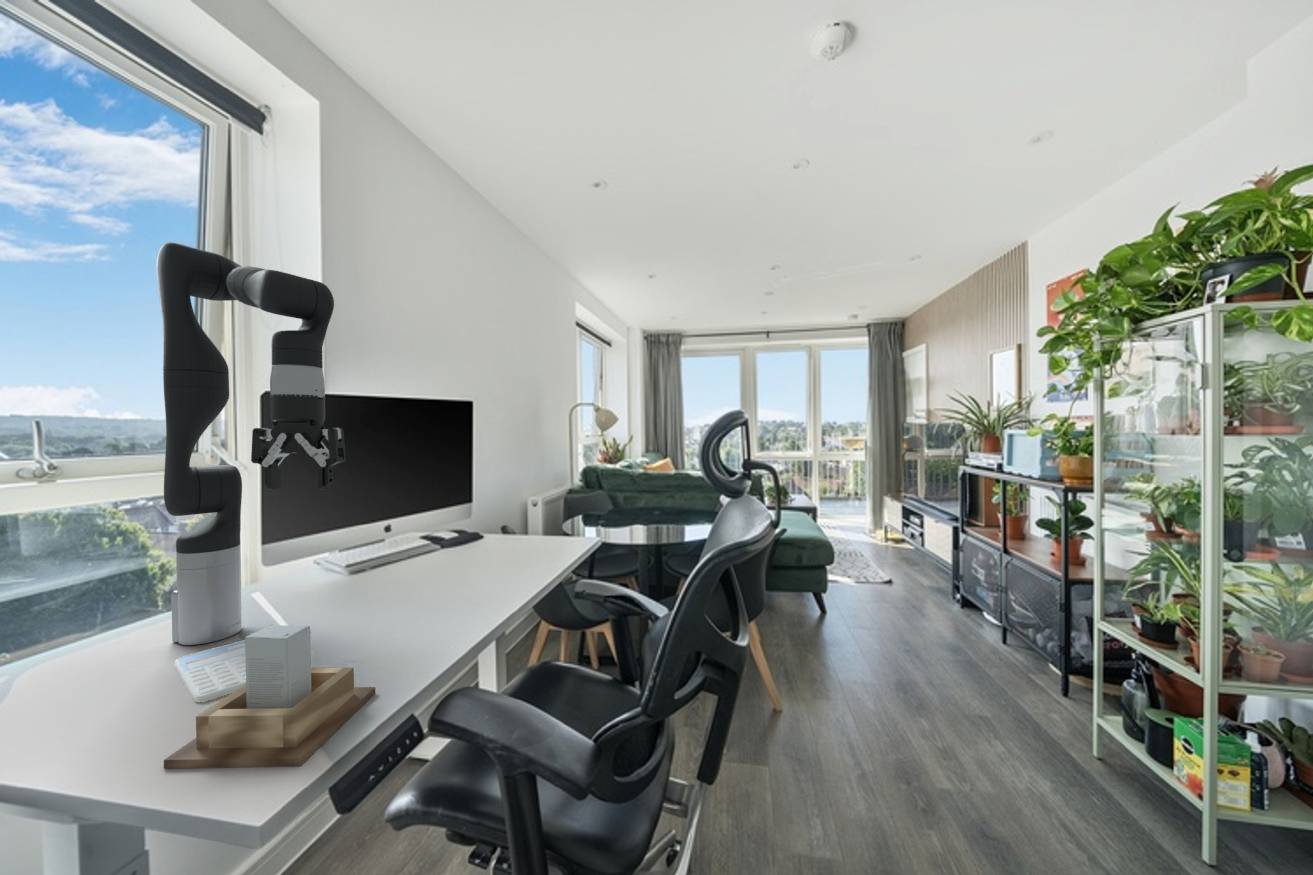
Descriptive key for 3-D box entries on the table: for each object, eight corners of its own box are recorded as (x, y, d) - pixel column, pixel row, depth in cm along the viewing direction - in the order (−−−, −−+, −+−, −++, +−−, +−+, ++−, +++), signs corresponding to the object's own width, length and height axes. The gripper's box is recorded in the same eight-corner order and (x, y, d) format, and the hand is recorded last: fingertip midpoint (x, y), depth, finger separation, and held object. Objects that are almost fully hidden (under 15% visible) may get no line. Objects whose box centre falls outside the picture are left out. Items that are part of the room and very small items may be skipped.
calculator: (196, 708, 71) (196, 695, 71) (173, 667, 83) (172, 656, 83) (304, 672, 81) (304, 661, 81) (269, 640, 94) (269, 631, 94)
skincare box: (313, 710, 68) (312, 625, 68) (288, 729, 64) (286, 638, 63) (272, 708, 68) (270, 624, 68) (244, 727, 64) (243, 636, 64)
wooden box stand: (163, 768, 58) (163, 726, 58) (268, 694, 74) (268, 662, 74) (300, 765, 58) (300, 724, 58) (375, 693, 74) (375, 660, 74)
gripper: (237, 392, 79) (238, 491, 79) (326, 392, 79) (327, 491, 80) (272, 395, 87) (274, 486, 87) (353, 395, 87) (354, 486, 87)
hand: (299, 488), depth 83 cm, fingers open, 8 cm apart
